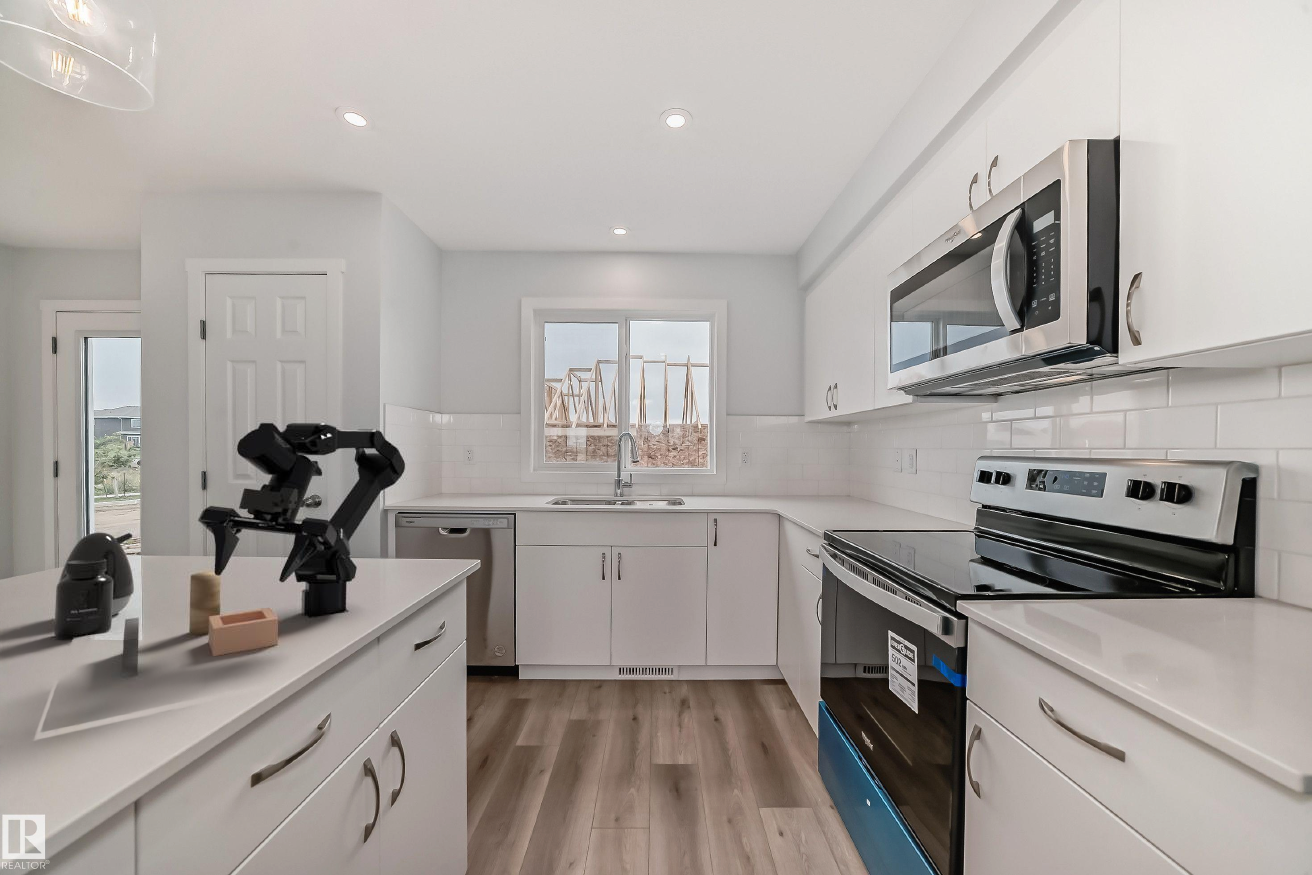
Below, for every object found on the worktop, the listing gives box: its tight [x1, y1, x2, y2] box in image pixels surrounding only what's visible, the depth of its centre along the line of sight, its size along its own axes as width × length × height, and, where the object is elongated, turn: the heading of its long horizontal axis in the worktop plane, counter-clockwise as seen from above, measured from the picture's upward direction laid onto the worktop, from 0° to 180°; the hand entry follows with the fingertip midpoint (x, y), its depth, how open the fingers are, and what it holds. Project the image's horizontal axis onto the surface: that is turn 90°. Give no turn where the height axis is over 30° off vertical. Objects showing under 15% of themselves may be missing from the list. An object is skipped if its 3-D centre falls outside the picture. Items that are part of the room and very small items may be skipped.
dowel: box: [189, 571, 222, 636], centre depth 97 cm, size 4×4×10 cm
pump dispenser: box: [58, 531, 135, 616], centre depth 107 cm, size 10×10×15 cm
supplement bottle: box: [53, 559, 113, 640], centre depth 97 cm, size 7×7×12 cm
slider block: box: [208, 607, 279, 657], centre depth 91 cm, size 8×8×4 cm
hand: (249, 578), depth 91 cm, fingers open, 9 cm apart
